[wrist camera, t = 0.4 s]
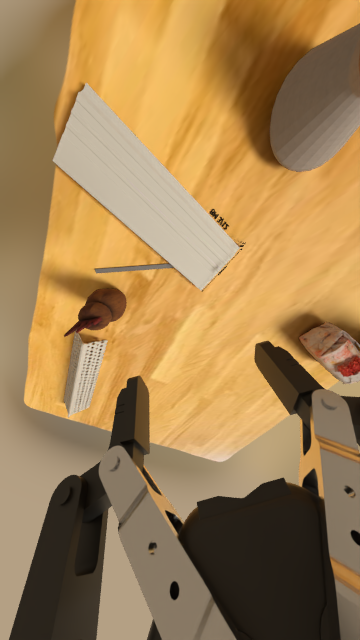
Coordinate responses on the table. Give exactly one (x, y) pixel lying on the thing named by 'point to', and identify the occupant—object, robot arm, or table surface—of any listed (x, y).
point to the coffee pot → (318, 104)
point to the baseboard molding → (141, 190)
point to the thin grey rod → (134, 268)
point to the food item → (334, 351)
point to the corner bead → (76, 371)
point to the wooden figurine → (100, 310)
